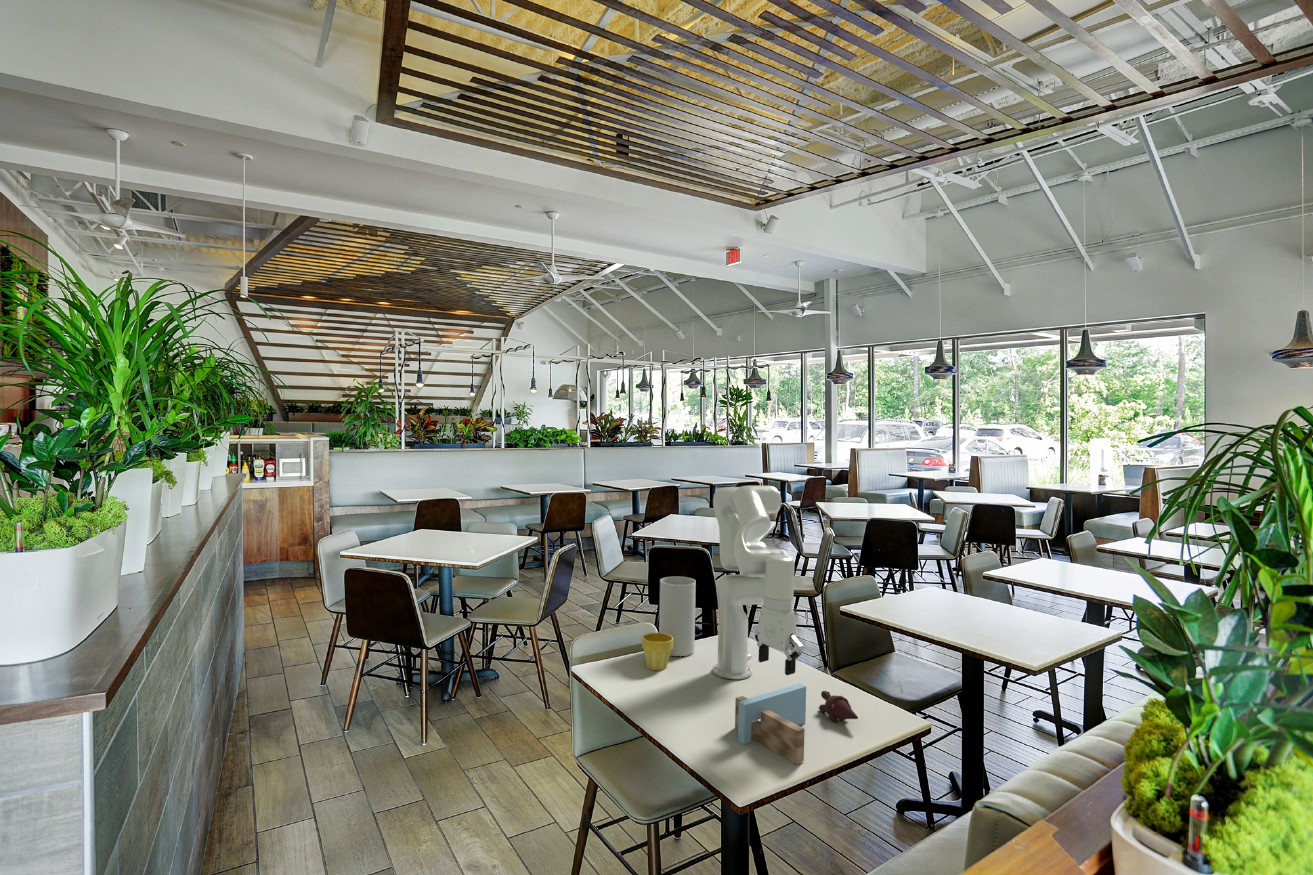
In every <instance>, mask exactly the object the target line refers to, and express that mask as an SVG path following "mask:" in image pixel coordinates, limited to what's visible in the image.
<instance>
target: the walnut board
mask: <svg viewBox="0 0 1313 875" xmlns="http://www.w3.org/2000/svg"><path fill="white" fill-rule="evenodd" d="M745 699H749V698H747V697H745V696H743V695H741V696H737V697H735V706H734V707H735V708H734V728H735V729H736V730H738V710H739V701H742V700H745ZM751 739H753V740H755V741H756V742H758V743H760V744H761V745H763V746H764V747H766V748H768V749H770V750H772V751H773V752H775V753H776V754H778V755H780V756H781V755H782V756H781V757H783V758H784V759H786V760H788V759H789V760H788V761H790V760H791V761H793V762H794V763H793V762H792V763H793V764H795V763H796V764H797V763H800V762H802V761H804V762H805V760H804V759H805V728H804V727H802V726H801V725H797V724H795V723H793V722H791V721H789V720H787V719H785V718H783V717H782V716H780V715H778V714H776V713H774V712H772V711H770V710H765V711H762V712H761V722H760V720H759V719H758V720H755V721H752V722H751ZM791 761H790V762H791ZM802 763H803V762H802ZM796 764H795V765H796ZM800 764H801V763H800ZM797 765H798V764H797Z"/></svg>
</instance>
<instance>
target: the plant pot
mask: <svg viewBox="0 0 1313 875" xmlns="http://www.w3.org/2000/svg"><path fill="white" fill-rule="evenodd" d="M641 648H642V649H643V653H644V657H645V658H644V659H645V665H646V667H647V669H649V670H652V671H662V669H663V670H665V669H667V667H668V662H669V658H670V656H669V655H670V651H671V650H672V648H673V637H672V636H671V635H669V634H665V633H659V632H648V633H645V634H643V635H642V637H641Z"/></svg>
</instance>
